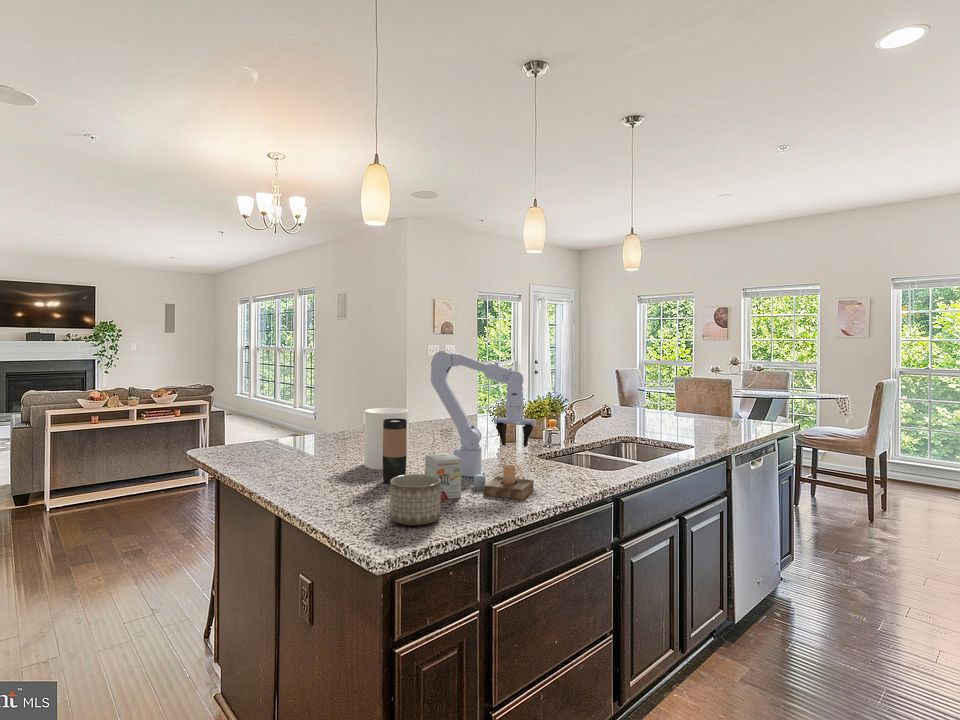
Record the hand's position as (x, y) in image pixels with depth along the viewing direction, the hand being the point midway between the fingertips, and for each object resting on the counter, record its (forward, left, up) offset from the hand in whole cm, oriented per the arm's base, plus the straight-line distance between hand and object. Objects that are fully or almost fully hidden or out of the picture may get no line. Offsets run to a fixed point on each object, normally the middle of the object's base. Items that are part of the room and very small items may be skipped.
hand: (514, 445), depth 183 cm
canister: (-48, -3, -11) cm, 50 cm away
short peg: (-5, -19, -11) cm, 22 cm away
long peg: (+5, -20, -10) cm, 23 cm away
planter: (-9, -54, -11) cm, 56 cm away
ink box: (-12, -31, -11) cm, 35 cm away
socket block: (+5, -20, -10) cm, 23 cm away
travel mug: (-33, -23, -11) cm, 42 cm away
